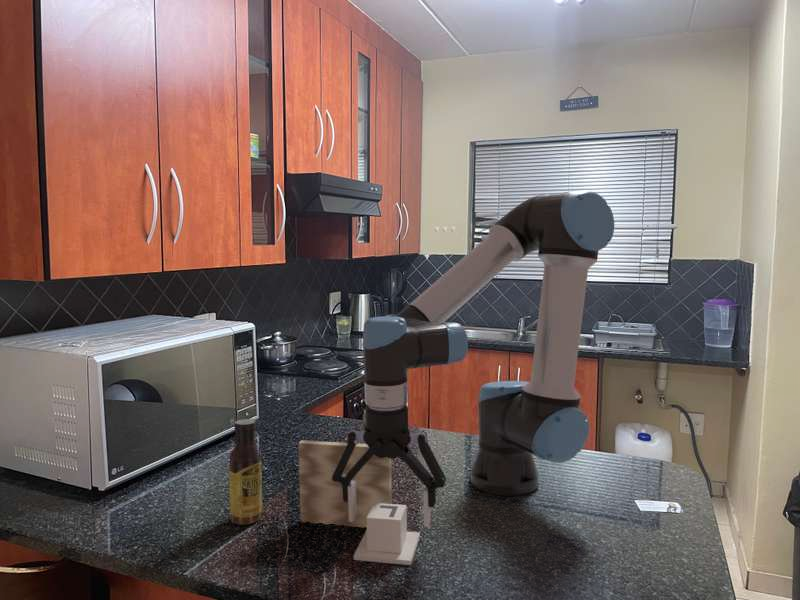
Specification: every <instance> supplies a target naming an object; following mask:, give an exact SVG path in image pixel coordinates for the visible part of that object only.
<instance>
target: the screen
mask: <svg viewBox="0 0 800 600" xmlns="http://www.w3.org/2000/svg"><path fill="white" fill-rule="evenodd" d="M347 444H348V442H338V441H334V442H333V441H320V440H319V441H318V440H303V439H302V440H300V441H299V442H298V471H299V472H298V473H299V476H298V477H299V507H300V508H299V512H300V515H299V516H300V522H301V521H302V522H301V523H306V522H310V523H309V524H318V523H323V524H322V525H329V524H335V525H334V526H341V525H344V526H343V527H345V526H346V527H356V528H357V527H358V528H365V527H366V529H367V516H368V514H369V512H370V510H371V508H372V506H373V505H374V503H385V504H393V502H392V501H393V500H392V496H393V495H392V494H393V493H392V459H391V458H388V457H385V458H378V457H377V456H376V455H373V456H372V457H371V458H370V459H369V460H368V461H367V462H366V464H365V465H364V466H363V467H362V468H361V469H360V471H359V472H358V473H357V474H356V475H355V476H354V478H353V479H352V480H351V481H356V504H357V516H356V517H355V519H354V521H353V522H349V510H348V502H344V500H343V487H342V484H341V483H340V482H337V481H336V482H334V481H333V480H332V476H333V474H334V472H335V470H336V468H337V465H338V463H339V461H340V459H341V457H342V455H343V453H344V451H345V449H346V446H347ZM368 448H369V447H368V445H367V444H366V443H358V444H356V446H355V448H354V450H353V452H352V454H351V456H350V459H349V461H348V463H347V465H346V467H345V469H344V471H343V473H344V474H347V473H348V472H349V471H350V470H351V469H352V467H353V466H354V465H355V464H356V463H357V462H358V460H359V459H360V458H361V457H362V456H363V454H364V453H365V452H366V451H367V450H368Z"/></svg>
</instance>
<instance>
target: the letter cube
mask: <svg viewBox="0 0 800 600" xmlns="http://www.w3.org/2000/svg"><path fill="white" fill-rule="evenodd" d="M407 516H408V515H407V504H398V503H397V504H395V503H392V504H385V503H374V505H373V506H372V508H371V510H370V512H369V514H368V516H367V528H366V530H367V550H368V551H380V552H391V553H401V551H402V549H403V546H404V543H405V540H406V537H407V531H408V527H407V526H408V523H407V522H408V519H407V518H408V517H407Z"/></svg>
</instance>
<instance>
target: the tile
mask: <svg viewBox="0 0 800 600" xmlns="http://www.w3.org/2000/svg"><path fill="white" fill-rule="evenodd" d="M420 538H421V532H417V531H408V530H407V537H406V540H405V543H404V546H403V549H402V551H401V553H391V552H380V551H368V550H367V529H366V530H365V532H364V534H363V536H362V538H361V540H360V542H359V545H358V547H357V548H356V550H355V552H354V554H353V560H355V561H361V562H372V563H374V562H375V563H383V564H392V565H394V564H395V565H405V566H411V565H412V563H413V560H414V556H415V553H416V551H417V550H416V549H417V546H418V544H419V540H420Z"/></svg>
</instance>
